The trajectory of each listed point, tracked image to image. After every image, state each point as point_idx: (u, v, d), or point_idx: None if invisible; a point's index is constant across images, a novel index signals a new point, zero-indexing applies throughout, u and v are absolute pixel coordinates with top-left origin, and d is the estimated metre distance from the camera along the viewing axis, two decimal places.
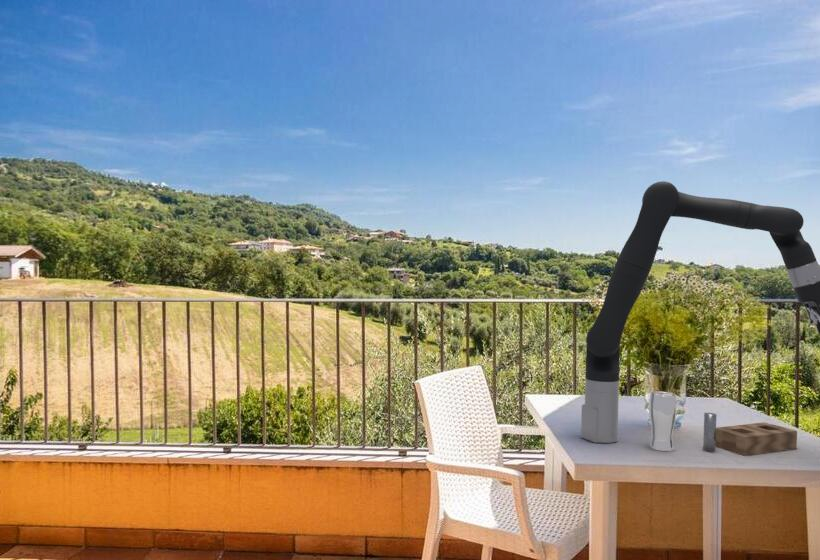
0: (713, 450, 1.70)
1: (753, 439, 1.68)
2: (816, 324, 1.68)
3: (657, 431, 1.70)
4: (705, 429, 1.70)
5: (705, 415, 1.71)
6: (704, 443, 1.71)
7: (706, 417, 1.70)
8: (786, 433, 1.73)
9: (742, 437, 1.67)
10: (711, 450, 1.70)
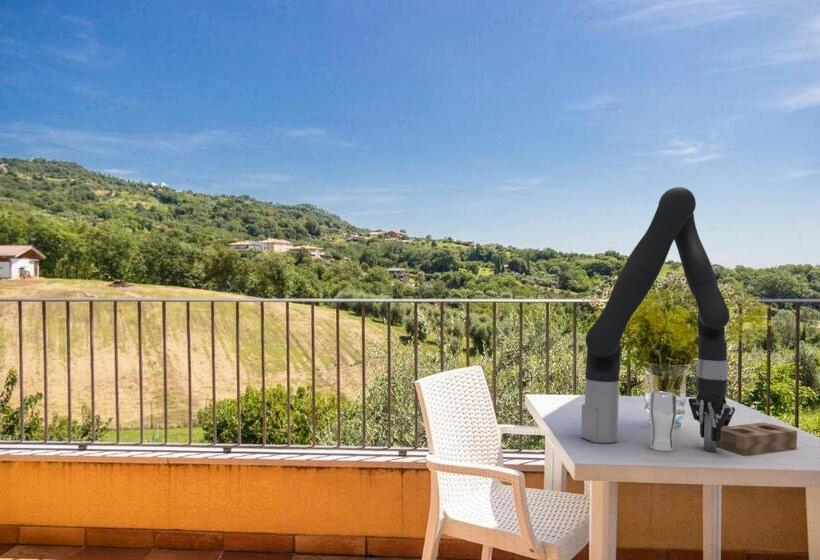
0: (713, 450, 1.70)
1: (753, 439, 1.68)
2: (703, 422, 1.72)
3: (657, 431, 1.70)
4: (705, 429, 1.70)
5: (705, 415, 1.70)
6: (704, 443, 1.71)
7: (706, 417, 1.70)
8: (786, 433, 1.73)
9: (742, 437, 1.67)
10: (712, 450, 1.69)
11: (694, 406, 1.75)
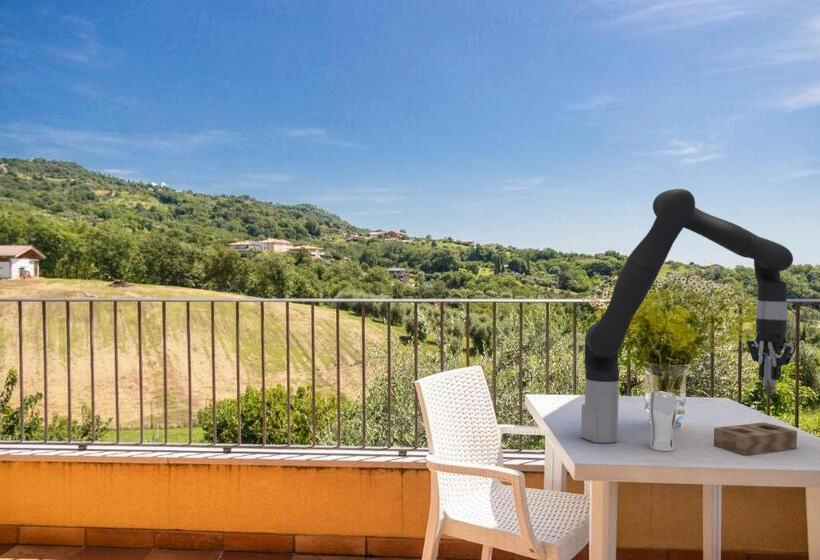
0: (773, 389, 1.75)
1: (753, 439, 1.68)
2: (762, 362, 1.77)
3: (657, 431, 1.70)
4: (765, 369, 1.76)
5: (765, 355, 1.76)
6: (764, 382, 1.76)
7: (766, 357, 1.76)
8: (786, 433, 1.73)
9: (742, 437, 1.67)
10: (772, 389, 1.75)
11: (753, 348, 1.80)
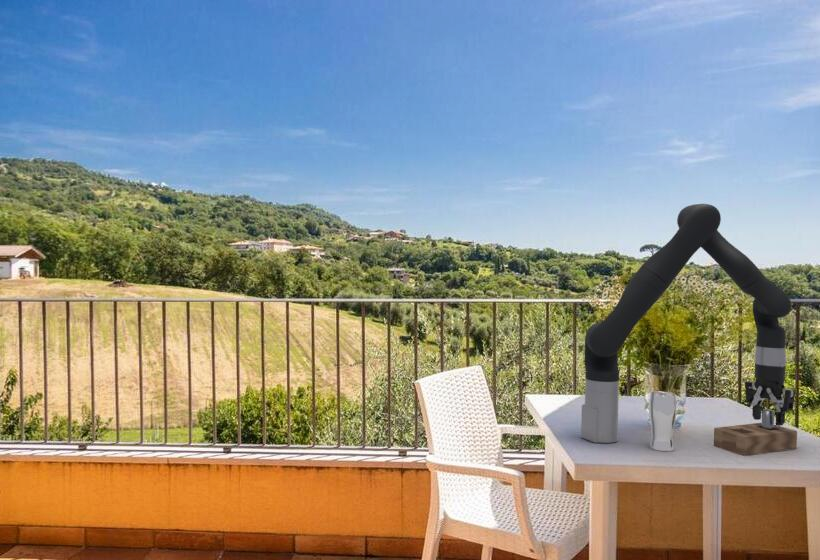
0: None
1: (753, 439, 1.68)
2: (755, 404, 1.79)
3: (657, 431, 1.70)
4: (763, 425, 1.76)
5: (763, 411, 1.77)
6: None
7: (764, 413, 1.76)
8: (786, 433, 1.73)
9: (742, 437, 1.67)
10: None
11: (749, 390, 1.81)
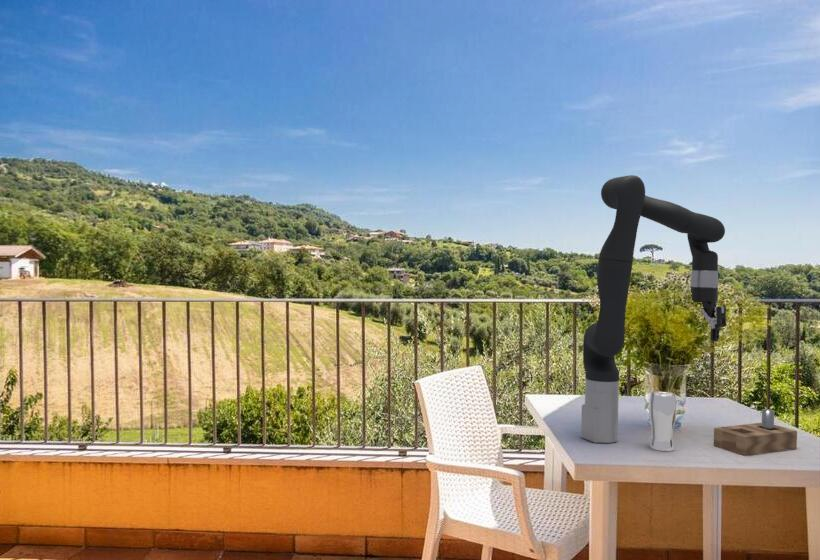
0: None
1: (753, 439, 1.68)
2: None
3: (657, 431, 1.70)
4: (763, 425, 1.76)
5: (763, 411, 1.77)
6: None
7: (764, 413, 1.76)
8: (786, 433, 1.73)
9: (742, 437, 1.67)
10: None
11: None
